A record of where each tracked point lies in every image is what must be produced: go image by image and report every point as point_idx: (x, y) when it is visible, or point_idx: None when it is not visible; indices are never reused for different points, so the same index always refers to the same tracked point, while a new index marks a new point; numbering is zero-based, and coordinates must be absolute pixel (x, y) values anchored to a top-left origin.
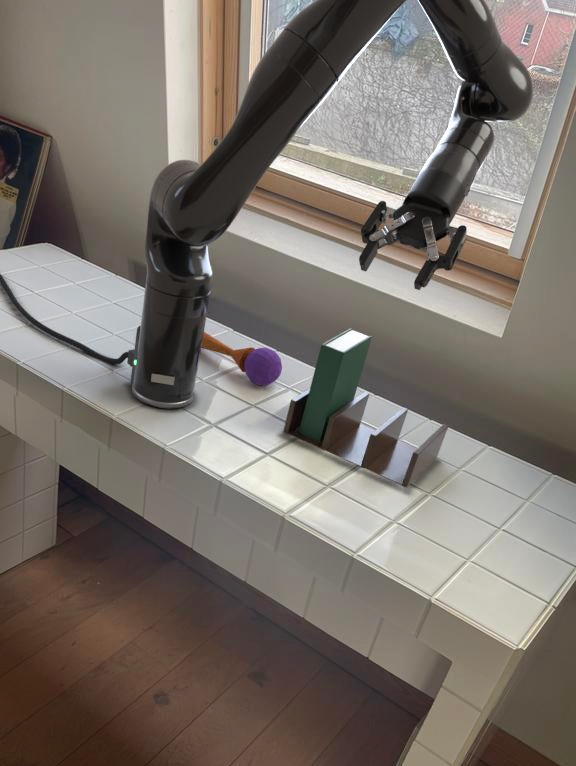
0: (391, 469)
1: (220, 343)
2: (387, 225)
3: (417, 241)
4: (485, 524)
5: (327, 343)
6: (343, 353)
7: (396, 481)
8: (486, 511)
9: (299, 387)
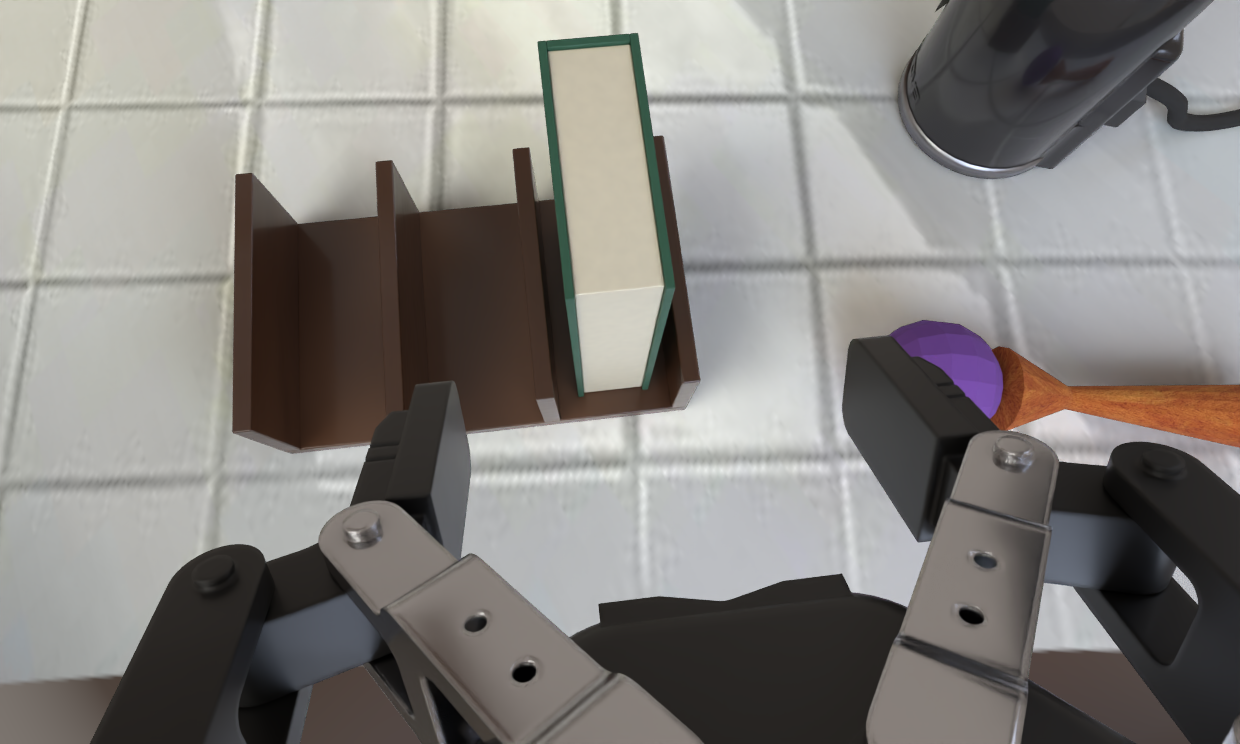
0: (351, 267)
1: (1132, 396)
2: (1030, 536)
3: (620, 610)
4: (71, 270)
5: (634, 70)
6: (539, 41)
7: (314, 225)
8: (85, 329)
9: (822, 494)
